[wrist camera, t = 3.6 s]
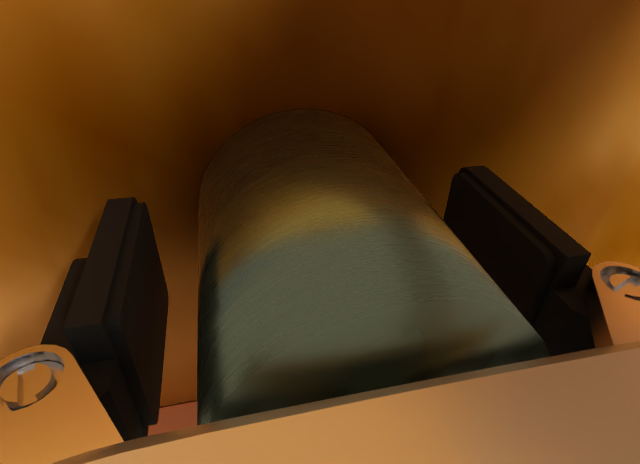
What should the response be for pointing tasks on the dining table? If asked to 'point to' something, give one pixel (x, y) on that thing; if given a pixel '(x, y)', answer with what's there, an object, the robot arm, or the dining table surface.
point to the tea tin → (333, 274)
